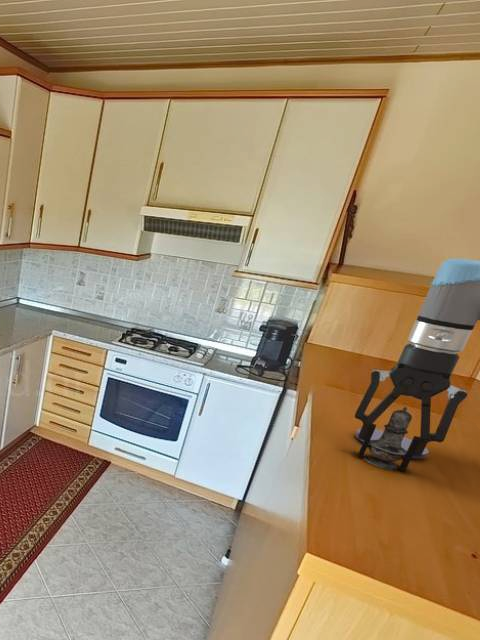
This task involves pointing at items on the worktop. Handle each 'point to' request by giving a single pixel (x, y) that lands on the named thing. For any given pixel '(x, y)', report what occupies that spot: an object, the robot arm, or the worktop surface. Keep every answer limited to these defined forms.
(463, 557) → the worktop surface
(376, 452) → the grey tall tiered piece
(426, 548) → the worktop surface
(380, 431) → the plate
